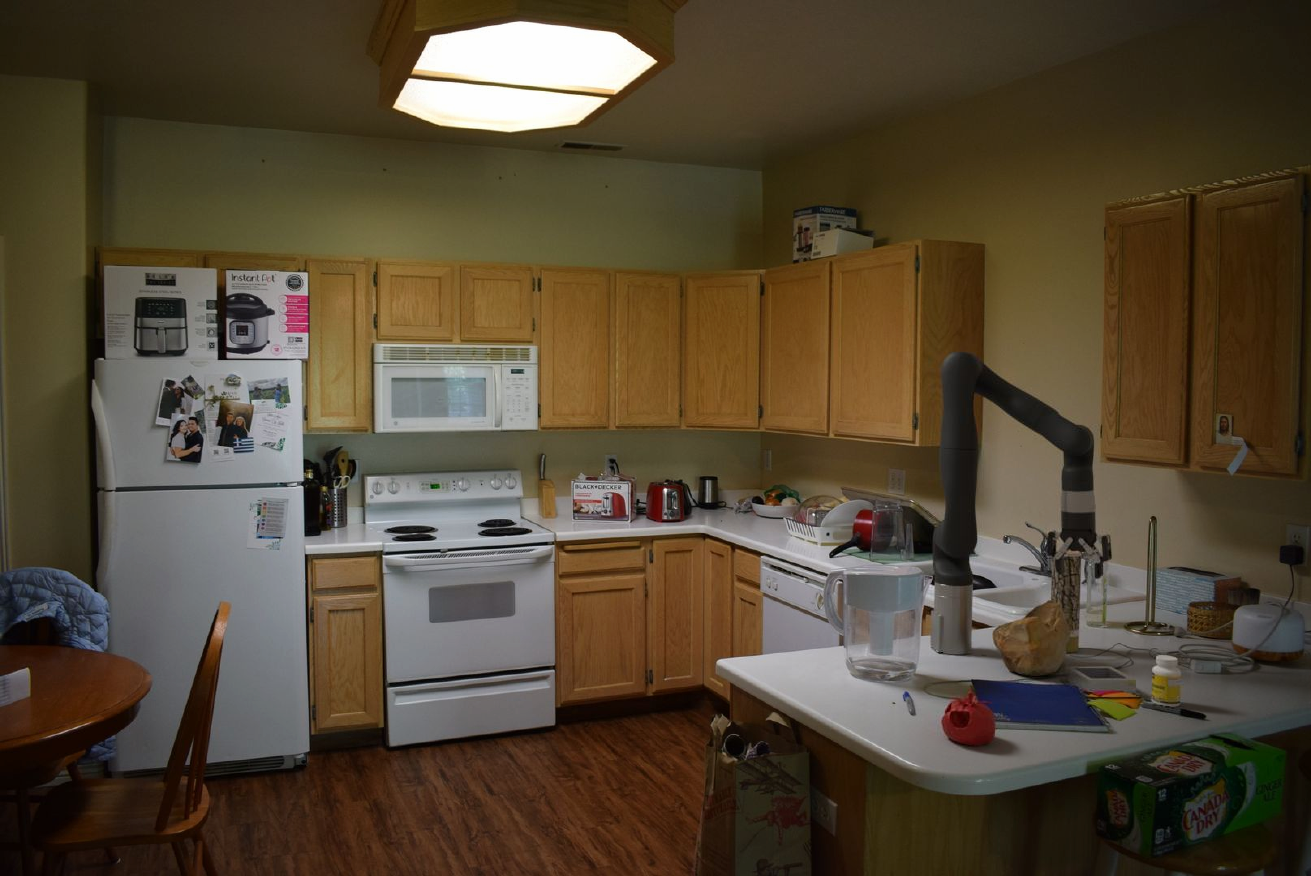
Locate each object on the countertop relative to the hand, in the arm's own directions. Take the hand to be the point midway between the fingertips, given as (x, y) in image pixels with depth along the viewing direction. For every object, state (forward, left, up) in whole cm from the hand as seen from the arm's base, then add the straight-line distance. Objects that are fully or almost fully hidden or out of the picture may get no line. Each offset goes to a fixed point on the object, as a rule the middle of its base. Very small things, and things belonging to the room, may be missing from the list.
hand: (1079, 576), depth 232 cm
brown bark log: (+3, +14, -22) cm, 26 cm away
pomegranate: (-46, -49, -22) cm, 70 cm away
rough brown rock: (-13, 0, -22) cm, 25 cm away
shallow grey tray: (-5, -19, -22) cm, 29 cm away
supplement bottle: (+4, -29, -22) cm, 37 cm away
